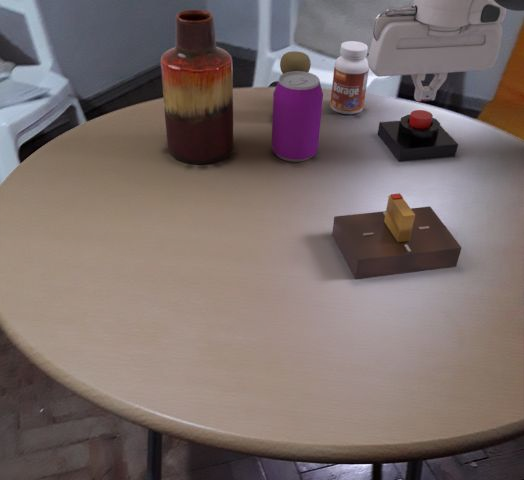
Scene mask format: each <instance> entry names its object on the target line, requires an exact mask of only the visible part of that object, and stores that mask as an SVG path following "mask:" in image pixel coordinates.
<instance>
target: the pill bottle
mask: <svg viewBox="0 0 524 480" xmlns="http://www.w3.org/2000/svg"><path fill="white" fill-rule="evenodd" d="M368 49H369V47H368V45H367V44H366V43H365V42H361V41H357V40H356V41H355V40H347V41H343V42H341V45H340V49H339V53H340V56H338V57H337V58H336V59H335V61H334V67H333V74H332V75H333V77H332V85H331V94H330V105H329V106H330V108H331V109H332V111H334V112H336V113H337V114H341V115H355V114H359V113H361V112H362V111H363V110H364V106H365V99H366V94H367V93H366V92H367V86H368V80H369V72H370V68H369V66H368V58H367V56H368Z"/></svg>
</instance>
